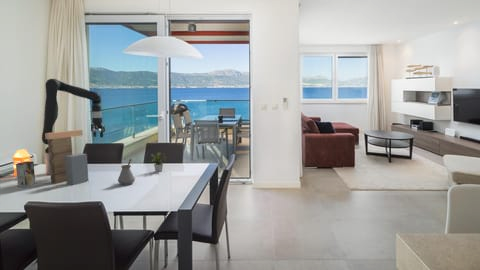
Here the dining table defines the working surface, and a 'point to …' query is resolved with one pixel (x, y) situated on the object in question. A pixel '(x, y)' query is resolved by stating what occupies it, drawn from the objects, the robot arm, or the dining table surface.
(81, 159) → the pedestal
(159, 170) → the house plant
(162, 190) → the dining table surface
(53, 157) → the stand
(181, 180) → the dining table surface
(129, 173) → the coffee pot
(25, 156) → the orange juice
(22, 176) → the coffee box
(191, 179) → the dining table surface
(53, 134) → the block
